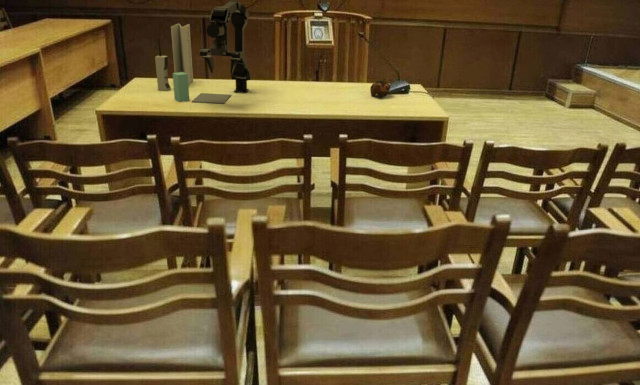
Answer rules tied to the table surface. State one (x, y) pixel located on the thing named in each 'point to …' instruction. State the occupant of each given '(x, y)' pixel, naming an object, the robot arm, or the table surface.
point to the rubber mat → (211, 98)
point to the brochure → (182, 50)
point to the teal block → (181, 86)
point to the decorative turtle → (380, 88)
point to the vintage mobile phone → (162, 71)
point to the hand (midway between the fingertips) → (221, 73)
